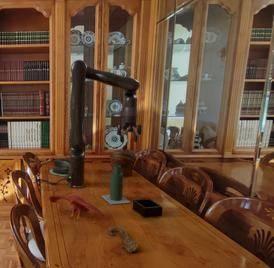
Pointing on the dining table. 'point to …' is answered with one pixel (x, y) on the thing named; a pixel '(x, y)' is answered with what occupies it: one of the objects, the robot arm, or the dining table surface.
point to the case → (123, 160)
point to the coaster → (112, 202)
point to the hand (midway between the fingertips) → (128, 142)
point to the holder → (147, 207)
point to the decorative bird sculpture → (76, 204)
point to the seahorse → (126, 240)
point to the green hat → (60, 167)
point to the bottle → (116, 184)
